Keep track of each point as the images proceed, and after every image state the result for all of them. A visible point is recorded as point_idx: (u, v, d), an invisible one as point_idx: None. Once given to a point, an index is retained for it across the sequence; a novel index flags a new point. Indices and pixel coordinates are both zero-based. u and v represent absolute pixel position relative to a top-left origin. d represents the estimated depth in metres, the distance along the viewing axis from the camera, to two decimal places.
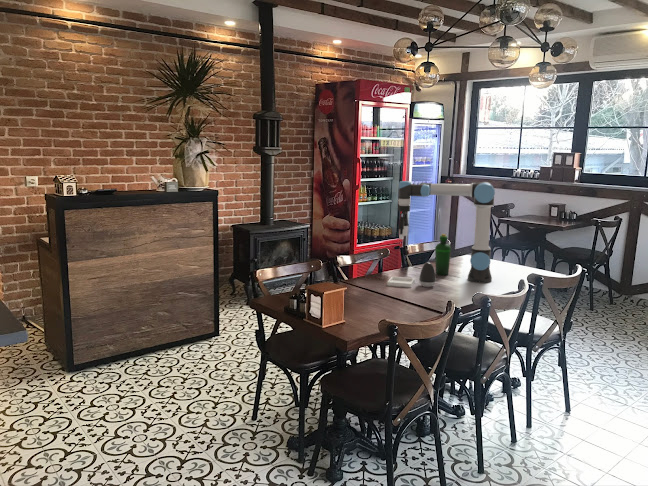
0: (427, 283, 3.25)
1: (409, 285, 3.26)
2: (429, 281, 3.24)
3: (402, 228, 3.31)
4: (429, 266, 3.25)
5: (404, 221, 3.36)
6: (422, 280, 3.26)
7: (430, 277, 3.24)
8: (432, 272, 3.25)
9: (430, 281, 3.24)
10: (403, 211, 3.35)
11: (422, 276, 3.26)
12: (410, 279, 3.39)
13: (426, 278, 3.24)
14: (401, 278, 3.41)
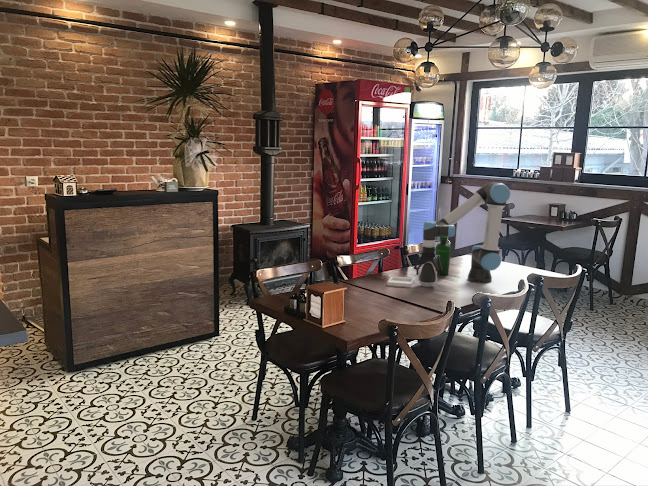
0: (427, 283, 3.25)
1: (409, 285, 3.26)
2: (429, 281, 3.24)
3: None
4: (429, 266, 3.25)
5: (422, 262, 3.27)
6: (422, 280, 3.26)
7: (430, 277, 3.24)
8: (432, 272, 3.25)
9: (430, 281, 3.24)
10: None
11: (422, 276, 3.26)
12: (410, 279, 3.39)
13: (426, 278, 3.24)
14: (401, 278, 3.41)
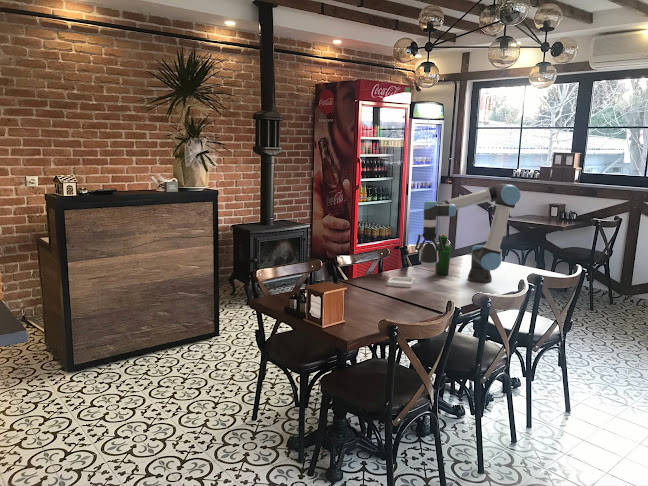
0: (428, 263, 3.23)
1: (409, 285, 3.26)
2: (430, 261, 3.22)
3: (415, 249, 3.27)
4: (430, 246, 3.23)
5: (423, 243, 3.25)
6: (423, 260, 3.24)
7: (431, 257, 3.22)
8: (433, 252, 3.22)
9: (431, 261, 3.22)
10: None
11: (423, 256, 3.24)
12: (410, 279, 3.39)
13: (427, 258, 3.22)
14: (401, 278, 3.41)
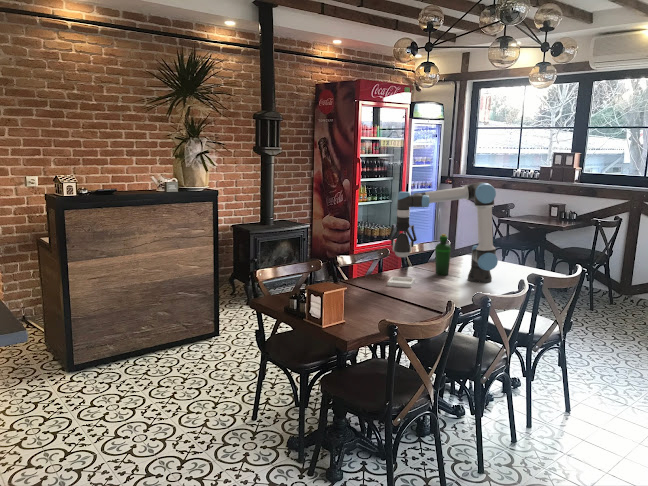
0: (401, 253, 3.26)
1: (409, 285, 3.26)
2: (403, 251, 3.26)
3: None
4: (403, 236, 3.26)
5: (396, 233, 3.29)
6: (396, 250, 3.27)
7: (404, 247, 3.26)
8: (406, 242, 3.26)
9: (404, 251, 3.26)
10: None
11: (396, 246, 3.27)
12: (410, 279, 3.39)
13: (401, 248, 3.26)
14: (401, 278, 3.41)
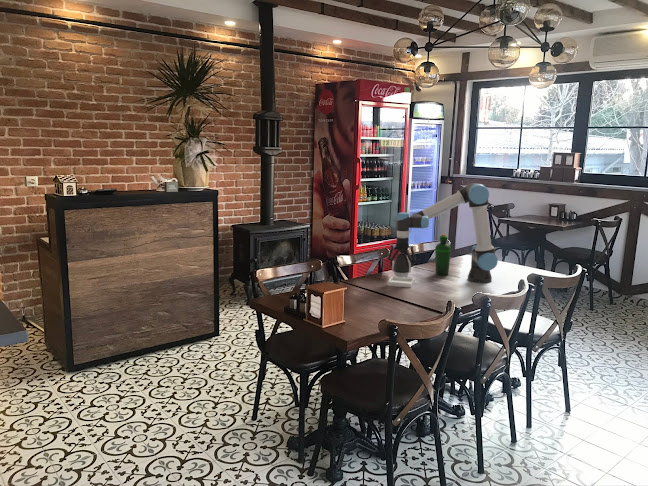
0: (401, 273, 3.29)
1: (409, 285, 3.26)
2: (403, 271, 3.28)
3: (388, 259, 3.34)
4: (403, 257, 3.29)
5: (396, 253, 3.31)
6: (396, 270, 3.30)
7: (404, 267, 3.28)
8: (406, 262, 3.29)
9: (404, 271, 3.28)
10: None
11: (396, 266, 3.30)
12: (410, 279, 3.39)
13: (400, 268, 3.28)
14: (401, 278, 3.41)
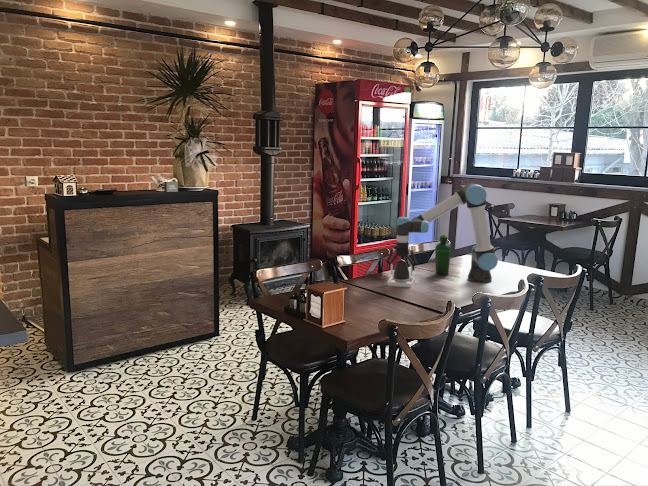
0: (401, 280, 3.30)
1: (409, 285, 3.26)
2: (403, 278, 3.29)
3: (386, 262, 3.34)
4: (402, 263, 3.29)
5: (395, 257, 3.32)
6: (396, 277, 3.31)
7: (403, 274, 3.29)
8: (405, 269, 3.29)
9: (403, 278, 3.29)
10: (396, 247, 3.31)
11: (396, 273, 3.31)
12: (410, 279, 3.39)
13: (400, 275, 3.29)
14: None
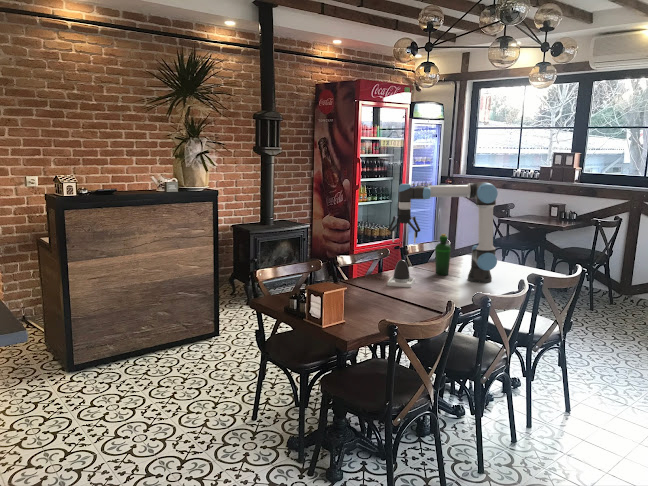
0: (401, 280, 3.30)
1: (409, 285, 3.26)
2: (403, 278, 3.29)
3: None
4: (403, 263, 3.30)
5: (397, 224, 3.29)
6: (396, 277, 3.31)
7: (404, 274, 3.29)
8: (406, 269, 3.29)
9: (404, 278, 3.29)
10: None
11: (396, 273, 3.31)
12: (410, 279, 3.39)
13: (400, 275, 3.29)
14: None
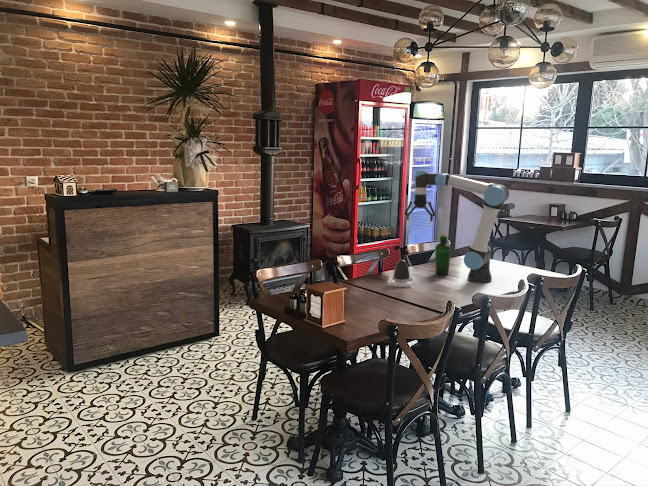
0: (401, 280, 3.30)
1: (409, 285, 3.26)
2: (403, 278, 3.29)
3: None
4: (403, 263, 3.30)
5: (413, 209, 3.45)
6: (396, 277, 3.31)
7: (404, 274, 3.29)
8: (406, 269, 3.29)
9: (404, 278, 3.29)
10: None
11: (396, 273, 3.31)
12: (410, 279, 3.39)
13: (400, 275, 3.29)
14: None
